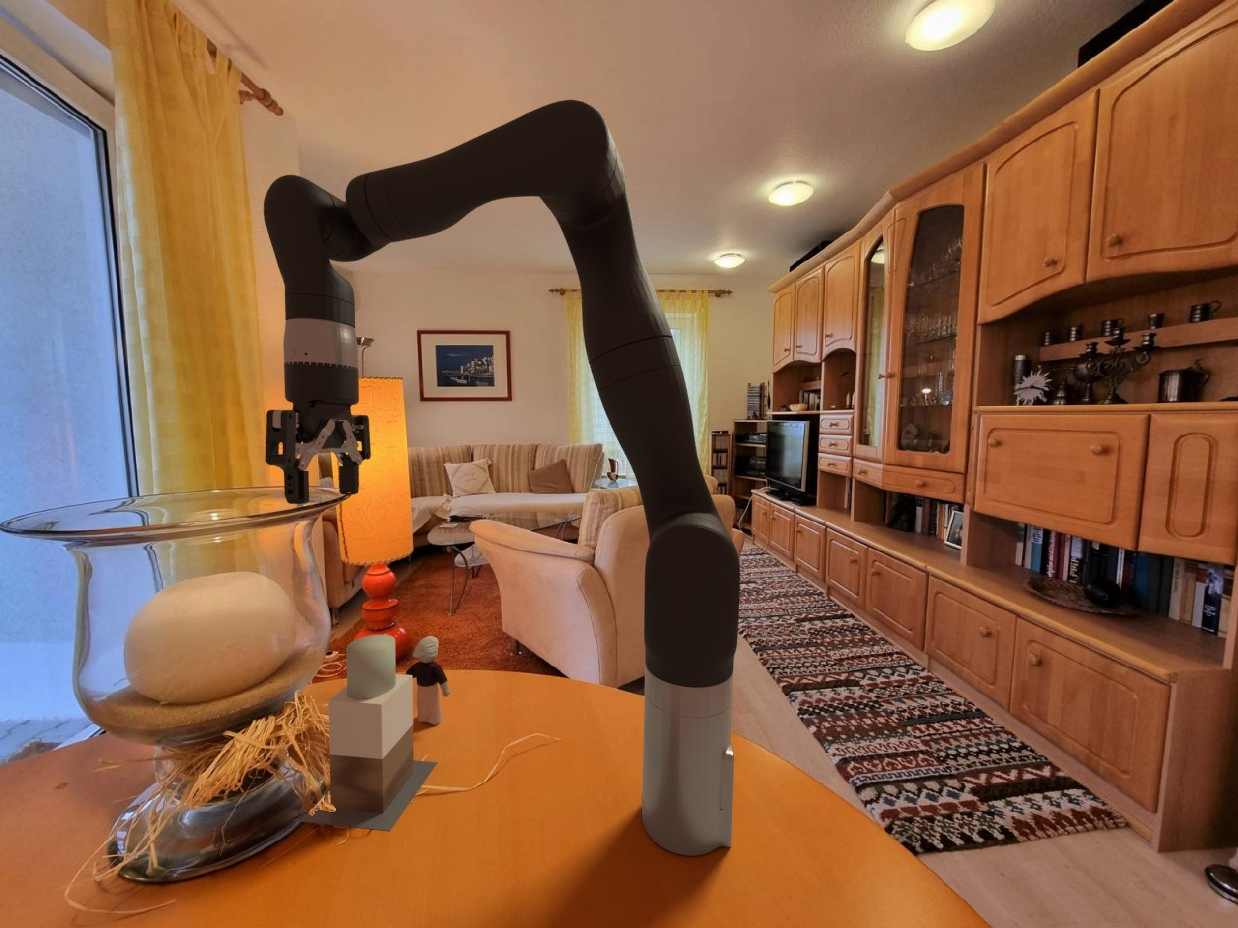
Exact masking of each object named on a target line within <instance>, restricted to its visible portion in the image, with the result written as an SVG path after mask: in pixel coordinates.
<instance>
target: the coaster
mask: <svg viewBox="0 0 1238 928" xmlns="http://www.w3.org/2000/svg"><path fill="white" fill-rule="evenodd" d="M437 765H438V762H435V761H426V760H415V759H413V767H414V773H413V774H412V775H411V777H410V778H409V779H408V781H407V782H406V783H405V785H404V786H403V787H402V789H401V790H400V791H399V793H398V794H397V795H396V797H395V798H394V799H393V801H392V802H391V803H390V805H389V806H388V807H387V809H386V810H385V811H384V813H378V812H368V811H359V810H349V809H340V808H336V811H335V812H329V811H325V810H324V811H323V810H318V811H316V812H315V814H314V815H313V816H311V815H309V813H308V811H307V812H306V813H305V814H304V815H303V816H302V817H301V818H300V820H298V821H299V823H311V824H317V825H318V824H320V825H329V826H335V827H336V826H337V827H347V828H356V829H365V830H375V831H383V832H384V831H385V832H391V831H392V829H393V828H394V827H395V825H396V823H397V822H398V821H399V820H400V818H401V816H402V814H403V813H404V812H405V811H406V809H407V808H408V806H409V804H410V803H412V800H413V799H414V798H415V796H416V795H417V794H418V792H419V791H420V789H421V788H422V786H423V785H424V783H425V782H426V780H427V779H428V777H429V776H430V775H431V774H432V772H433V771H434V769H435V767H436V766H437Z"/></svg>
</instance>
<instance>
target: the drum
mask: <svg viewBox="0 0 1238 928" xmlns="http://www.w3.org/2000/svg"><path fill="white" fill-rule="evenodd" d="M345 650H346V652H345V653H346V655H345V656H346V657H345V659H346V661H345V662H346V686H347V695H348V696H349V697H351V698H353V699H370V698H375V697H378V696H381V695H383V694H385V693H387V692H389V691H390V690H391V689H393V688H394V686H395V684H396V674H397V673H396V666H397V665H396V638H395V637H394V636H392V635H389V634H372V635H367V636H364V637H363V636H362V637H359V638H358V639H357V638H356V639H355V640H353V641H351V642H350V643H348V644H347V645H346V648H345Z"/></svg>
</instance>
